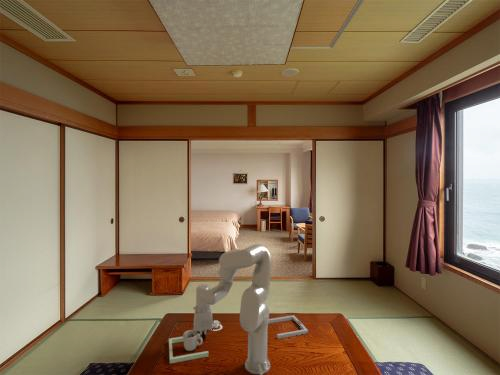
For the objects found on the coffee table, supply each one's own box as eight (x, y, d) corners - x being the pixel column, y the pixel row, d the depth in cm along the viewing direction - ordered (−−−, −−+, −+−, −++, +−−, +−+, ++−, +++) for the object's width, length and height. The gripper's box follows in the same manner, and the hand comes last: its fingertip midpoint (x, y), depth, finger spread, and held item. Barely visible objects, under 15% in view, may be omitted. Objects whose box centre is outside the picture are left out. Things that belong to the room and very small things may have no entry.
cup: (205, 344, 155) (204, 330, 154) (200, 353, 147) (199, 339, 147) (186, 342, 157) (186, 329, 156) (180, 352, 149) (180, 337, 149)
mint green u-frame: (208, 356, 145) (208, 351, 145) (169, 363, 139) (169, 358, 139) (203, 336, 163) (203, 332, 163) (168, 342, 158) (168, 337, 157)
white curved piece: (206, 330, 171) (206, 323, 171) (211, 323, 179) (211, 317, 178) (219, 332, 169) (219, 325, 169) (224, 325, 177) (224, 319, 176)
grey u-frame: (308, 333, 167) (308, 329, 167) (278, 338, 161) (278, 334, 161) (293, 318, 185) (293, 314, 185) (266, 322, 180) (266, 318, 179)
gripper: (189, 313, 148) (189, 346, 148) (217, 309, 152) (217, 342, 153) (188, 306, 155) (188, 338, 156) (215, 303, 159) (215, 334, 160)
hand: (202, 340), depth 154 cm, fingers closed
